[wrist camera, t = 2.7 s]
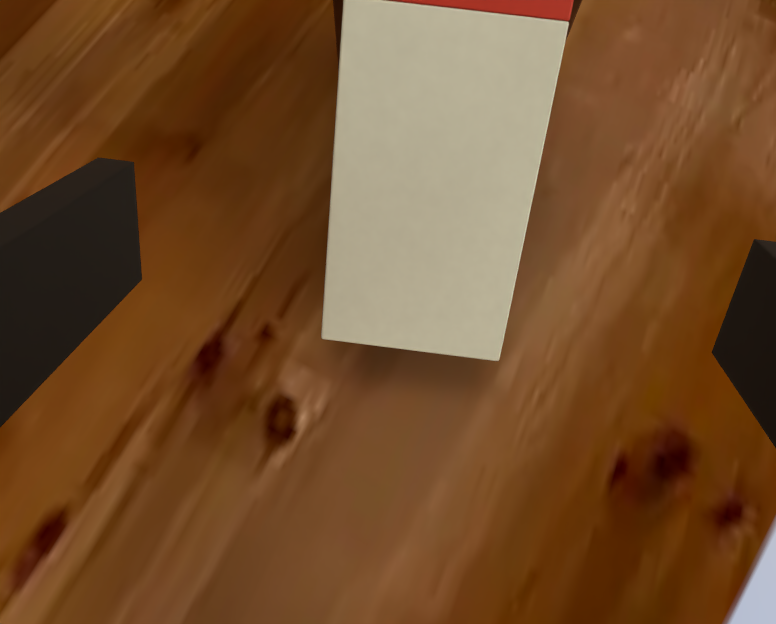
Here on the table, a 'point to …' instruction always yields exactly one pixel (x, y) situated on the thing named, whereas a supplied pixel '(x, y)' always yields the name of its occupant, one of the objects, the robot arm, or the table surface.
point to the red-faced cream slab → (436, 168)
